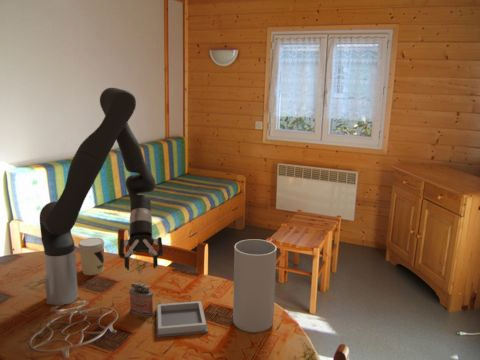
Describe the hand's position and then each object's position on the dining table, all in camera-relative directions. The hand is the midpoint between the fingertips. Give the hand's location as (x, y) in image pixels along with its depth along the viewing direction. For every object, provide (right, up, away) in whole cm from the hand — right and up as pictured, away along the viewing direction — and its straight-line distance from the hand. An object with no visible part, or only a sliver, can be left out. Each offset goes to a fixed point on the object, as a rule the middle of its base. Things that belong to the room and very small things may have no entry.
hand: (141, 268), depth 144 cm
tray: (+14, -15, -9) cm, 22 cm away
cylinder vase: (+37, -15, -8) cm, 40 cm away
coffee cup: (-24, -6, +25) cm, 35 cm away
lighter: (+1, -13, -4) cm, 14 cm away
